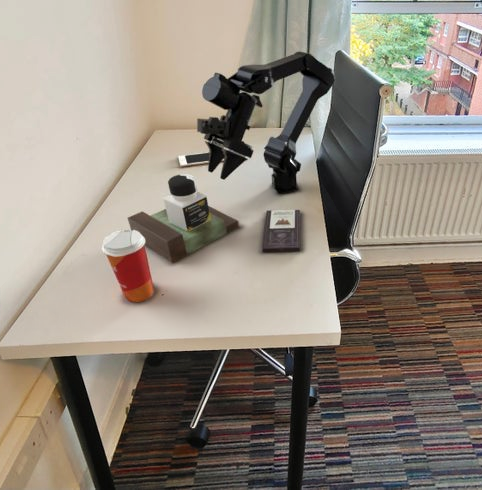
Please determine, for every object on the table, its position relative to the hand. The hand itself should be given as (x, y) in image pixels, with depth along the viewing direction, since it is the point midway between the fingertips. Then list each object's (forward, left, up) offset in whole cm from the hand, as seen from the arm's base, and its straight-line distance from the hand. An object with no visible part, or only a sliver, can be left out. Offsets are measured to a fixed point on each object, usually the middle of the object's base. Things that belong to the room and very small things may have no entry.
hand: (215, 175), depth 111 cm
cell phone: (-3, -40, -13) cm, 42 cm away
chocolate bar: (-13, +12, -13) cm, 22 cm away
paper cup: (+23, +23, -13) cm, 35 cm away
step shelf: (+10, +3, -13) cm, 16 cm away
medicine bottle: (+9, +5, -9) cm, 13 cm away
